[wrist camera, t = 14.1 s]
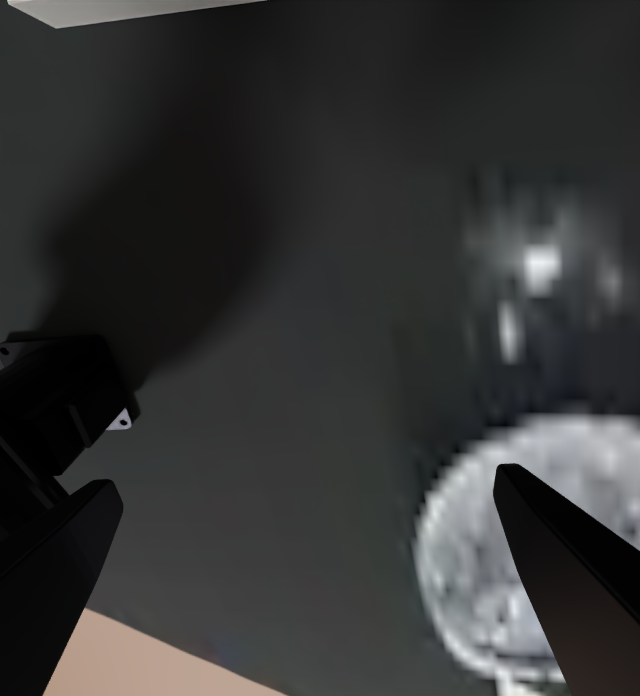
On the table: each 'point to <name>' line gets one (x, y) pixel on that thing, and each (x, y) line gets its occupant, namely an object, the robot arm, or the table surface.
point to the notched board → (108, 9)
